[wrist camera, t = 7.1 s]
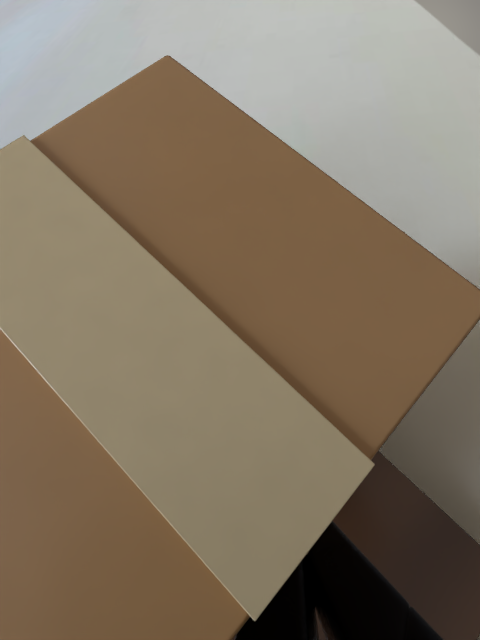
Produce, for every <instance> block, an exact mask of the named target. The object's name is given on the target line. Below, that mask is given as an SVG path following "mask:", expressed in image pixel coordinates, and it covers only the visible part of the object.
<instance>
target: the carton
mask: <svg viewBox="0 0 480 640" xmlns="http://www.w3.org/2000/svg"><path fill="white" fill-rule="evenodd" d="M479 320H480V289H478V288H477V287H476V286H474V285H473V284H472V283H470V282H469V281H468V280H466V279H465V278H464V277H462V276H461V275H460V274H458V273H457V272H456V271H454V270H453V269H452V268H450V267H449V266H448V265H446V264H445V263H444V262H442V261H441V260H440V259H438V258H437V257H436V256H434V255H433V254H432V253H431V252H429V251H428V250H427V249H425V248H424V247H423V246H421V245H420V244H419V243H417V242H416V241H415V240H413V239H412V238H411V237H409V236H408V235H407V234H405V233H404V232H403V231H401V230H400V229H399V228H397V227H396V226H395V225H393V224H392V223H391V222H389V221H388V220H387V219H385V218H384V217H383V216H381V215H380V214H379V213H377V212H376V211H375V210H373V209H372V208H371V207H369V206H368V205H367V204H365V203H364V202H363V201H361V200H360V199H359V198H357V197H356V196H355V195H353V194H352V193H351V192H350V191H348V190H347V189H346V188H344V187H343V186H342V185H340V184H339V183H338V182H336V181H335V180H334V179H332V178H331V177H330V176H328V175H327V174H326V173H324V172H323V171H322V170H320V169H319V168H318V167H316V166H315V165H314V164H312V163H311V162H310V161H308V160H307V159H306V158H304V157H303V156H302V155H300V154H299V153H298V152H296V151H295V150H294V149H292V148H291V147H290V146H288V145H287V144H286V143H284V142H283V141H282V140H280V139H279V138H278V137H276V136H275V135H274V134H273V133H271V132H270V131H269V130H267V129H266V128H265V127H263V126H262V125H261V124H259V123H258V122H257V121H255V120H254V119H253V118H251V117H250V116H249V115H247V114H246V113H245V112H243V111H242V110H241V109H239V108H238V107H237V106H235V105H234V104H233V103H231V102H230V101H229V100H227V99H226V98H225V97H223V96H222V95H221V94H219V93H218V92H217V91H215V90H214V89H213V88H211V87H210V86H209V85H207V84H206V83H205V82H203V81H202V80H201V79H199V78H198V77H197V76H196V75H194V74H193V73H192V72H190V71H189V70H188V69H186V68H185V67H184V66H182V65H181V64H180V63H178V62H177V61H176V60H174V59H173V58H172V57H170V56H165V57H163V58H161V59H160V60H158V61H157V62H155V63H153V64H152V65H150V66H149V67H147V68H146V69H144V70H142V71H141V72H139V73H138V74H136V75H134V76H133V77H131V78H130V79H128V80H126V81H125V82H123V83H122V84H120V85H118V86H117V87H115V88H114V89H112V90H110V91H109V92H107V93H106V94H104V95H103V96H101V97H99V98H98V99H96V100H95V101H93V102H91V103H90V104H88V105H87V106H85V107H83V108H82V109H80V110H79V111H77V112H75V113H74V114H72V115H71V116H69V117H67V118H66V119H64V120H63V121H61V122H59V123H58V124H56V125H55V126H53V127H52V128H50V129H48V130H47V131H45V132H44V133H42V134H40V135H39V136H37V137H36V138H34V139H32V140H31V141H29V140H28V139H27V138H26V137H25V136H24V135H23V136H21V137H20V138H18V139H16V140H15V141H13V142H12V143H10V144H8V145H7V146H5V147H4V148H2V149H0V640H233V638H234V637H235V636H236V634H237V633H238V632H239V631H240V629H241V628H242V627H243V625H244V624H245V623H246V622H247V620H248V619H249V618H250V617H251V618H252V619H253V620H254V621H256V620H257V619H258V617H259V616H260V615H261V613H262V612H263V611H264V609H265V608H266V607H267V605H268V604H269V603H270V602H271V600H272V599H273V598H274V596H275V595H276V594H277V592H278V591H279V590H280V588H281V587H282V586H283V585H284V583H285V582H286V581H287V579H288V578H289V577H290V575H291V574H292V573H293V571H294V570H295V569H296V568H297V566H298V565H299V564H300V562H301V561H302V560H303V558H304V557H305V556H306V554H307V553H308V552H309V551H310V549H311V548H312V547H313V545H314V544H315V543H316V541H317V540H318V539H319V537H320V536H321V535H322V534H323V532H324V531H325V530H326V528H327V527H328V526H329V524H330V523H331V522H332V520H333V519H334V518H335V517H336V515H337V514H338V513H339V511H340V510H341V509H342V507H343V506H344V505H345V503H346V502H347V501H348V500H349V498H350V497H351V496H352V494H353V493H354V492H355V490H356V489H357V488H358V486H359V485H360V484H361V483H362V481H363V480H364V479H365V477H366V476H367V475H368V473H369V472H370V471H371V469H372V468H373V467H374V466H375V464H374V463H373V462H372V461H371V460H372V458H373V457H374V456H375V454H376V453H377V452H378V451H379V449H380V448H381V447H382V445H383V444H384V443H385V441H386V440H387V439H388V438H389V436H390V435H391V434H392V432H393V431H394V430H395V429H396V427H397V426H398V425H399V423H400V422H401V421H402V419H403V418H404V417H405V416H406V414H407V413H408V412H409V410H410V409H411V408H412V406H413V405H414V404H415V403H416V401H417V400H418V399H419V397H420V396H421V395H422V394H423V392H424V391H425V390H426V388H427V387H428V386H429V384H430V383H431V382H432V381H433V379H434V378H435V377H436V375H437V374H438V373H439V372H440V370H441V369H442V368H443V366H444V365H445V364H446V362H447V361H448V360H449V359H450V357H451V356H452V355H453V353H454V352H455V351H456V349H457V348H458V347H459V346H460V344H461V343H462V342H463V340H464V339H465V338H466V337H467V335H468V334H469V333H470V331H471V330H472V329H473V327H474V326H475V325H476V324H477V322H478V321H479Z"/></svg>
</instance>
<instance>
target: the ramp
mask: <svg viewBox="0 0 480 640" xmlns="http://www.w3.org/2000/svg"><path fill="white" fill-rule="evenodd" d="M371 461H372V462H373V463H374V464H375V466H374V467H373V468H372V469H371V471H370V472H369V473H368V475H367V476H366V477H365V479H364V480H363V481H362V483H361V484H360V485H359V486H358V488H357V489H356V490H355V492H354V493H353V494H352V496H351V497H350V498H349V500H348V501H347V502H346V503H345V505H344V506H343V507H342V509H341V510H340V511H339V513H338V514H337V515H336V517H335V518H334V519H333V520H332V521H333V522H334V523H335V524H336V525H337V526H338V527H339V528H340V529H341V530H342V531H343V533H344V534H345V535H346V536H347V537H348V538H349V539H350V540H351V541H352V542H353V543H354V544H355V545H356V547H357V548H358V549H359V550H360V551H361V552H362V553H363V554H364V555H365V556H366V557H367V558H368V559H369V561H370V562H371V563H372V564H373V565H374V566H375V567H376V568H377V569H378V570H379V571H380V572H381V573H382V575H383V576H384V577H385V578H386V579H387V580H388V581H389V582H390V583H391V584H392V585H393V586H394V587H395V589H396V590H397V591H398V592H399V593H400V594H401V595H402V596H403V597H404V598H405V599H406V600H407V602H408V603H409V604H410V607H413V608H414V609H415V610H416V611H417V612H418V613H419V614H420V615H421V616H422V617H423V619H424V620H425V621H426V622H427V623H428V624H429V625H430V626H431V627H432V628H433V629H434V630H435V631H436V632H437V633H438V634H439V635H440V636H441V637H442V638H443V639H444V640H477V638H478V637H479V635H480V545H479V544H478V543H477V542H476V541H475V540H474V539H473V538H472V537H471V536H470V535H468V534H467V533H466V532H465V531H464V530H463V529H462V528H461V527H460V526H459V525H458V524H457V523H455V522H454V521H453V520H452V519H451V518H450V517H449V516H448V515H447V514H446V513H445V512H444V511H443V510H441V509H440V508H439V507H438V506H437V505H436V504H435V503H434V502H433V501H432V500H431V499H430V498H428V497H427V496H426V495H425V494H424V493H423V492H422V491H421V490H420V489H419V488H418V487H417V486H415V485H414V484H413V483H412V482H411V481H410V480H409V479H408V478H407V477H406V476H405V475H404V474H403V473H401V472H400V471H399V470H398V469H397V468H396V467H395V466H394V465H393V464H392V463H391V462H390V461H388V460H387V459H386V458H385V457H384V456H383V455H382V454H381V453H380V452H379V451H378V452H377V453H376V454H375V456H374V457H373V458H372V460H371ZM315 610H316V609H315ZM316 617H317V625H318V633H319V640H326V638H325V635H324V632H323V629H322V626H321V624H320V621H319V618H318V615H317V612H316ZM235 637H236V636H235ZM235 637H234V638H233V640H235Z"/></svg>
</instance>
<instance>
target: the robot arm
mask: <svg viewBox="0 0 480 640" xmlns="http://www.w3.org/2000/svg"><path fill="white" fill-rule="evenodd" d="M315 609H316V610H315ZM316 612H317V615H318V618H319V621H320V624H321V626H322V629H323V632H324V635H325V638H326V640H444V639H443V638H442V637H441V636H440V635H439V634H438V633H437V632H436V631H435V630H434V629H433V628H432V627H431V626H430V625H429V624H428V623H427V622H426V621H425V620H424V619H423V617H422V616H421V615H420V614H419V613H418V612H417V611H416V610H415V609H414V608H413V607H410V604H409V603H408V602H407V600H406V599H405V598H404V597H403V596H402V595H401V594H400V593H399V592H398V591H397V590H396V589H395V587H394V586H393V585H392V584H391V583H390V582H389V581H388V580H387V579H386V578H385V577H384V576H383V575H382V573H381V572H380V571H379V570H378V569H377V568H376V567H375V566H374V565H373V564H372V563H371V562H370V561H369V559H368V558H367V557H366V556H365V555H364V554H363V553H362V552H361V551H360V550H359V549H358V548H357V547H356V545H355V544H354V543H353V542H352V541H351V540H350V539H349V538H348V537H347V536H346V535H345V534H344V533H343V531H342V530H341V529H340V528H339V527H338V526H337V525H336V524H335V523H334V522H333V521H332V522H331V523H330V524H329V526H328V527H327V528H326V530H325V531H324V532H323V534H322V535H321V536H320V537H319V539H318V540H317V541H316V543H315V544H314V545H313V547H312V548H311V549H310V551H309V552H308V553H307V554H306V556H305V557H304V558H303V560H302V561H301V562H300V564H299V565H298V566H297V568H296V569H295V570H294V571H293V573H292V574H291V575H290V577H289V578H288V579H287V581H286V582H285V583H284V585H283V586H282V587H281V588H280V590H279V591H278V592H277V594H276V595H275V596H274V598H273V599H272V600H271V602H270V603H269V604H268V605H267V607H266V608H265V609H264V611H263V612H262V613H261V615H260V616H259V617H258V619H257V620H256V621H254V620H253V619H252V618H251V617H250V618H249V619H248V620H247V622H246V623H245V624H244V625H243V627H242V628H241V629H240V631H239V632H238V633H237V634H236V637H235V640H319V633H318V625H317V617H316Z"/></svg>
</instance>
